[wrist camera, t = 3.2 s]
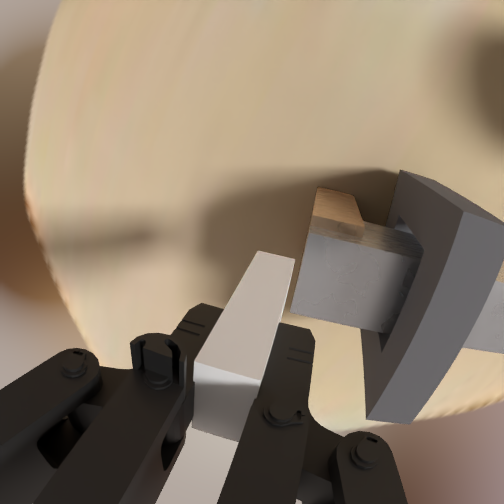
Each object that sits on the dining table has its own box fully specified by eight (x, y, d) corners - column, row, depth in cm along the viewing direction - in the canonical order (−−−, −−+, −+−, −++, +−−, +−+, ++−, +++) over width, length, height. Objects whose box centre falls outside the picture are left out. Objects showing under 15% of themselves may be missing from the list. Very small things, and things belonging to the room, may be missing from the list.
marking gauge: (317, 186, 20) (311, 222, 13) (567, 265, 16) (617, 312, 9) (302, 256, 22) (286, 322, 15) (545, 314, 18) (585, 369, 11)
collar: (399, 169, 17) (463, 211, 8) (434, 180, 17) (514, 230, 8) (358, 308, 21) (365, 419, 12) (388, 315, 21) (409, 424, 12)
